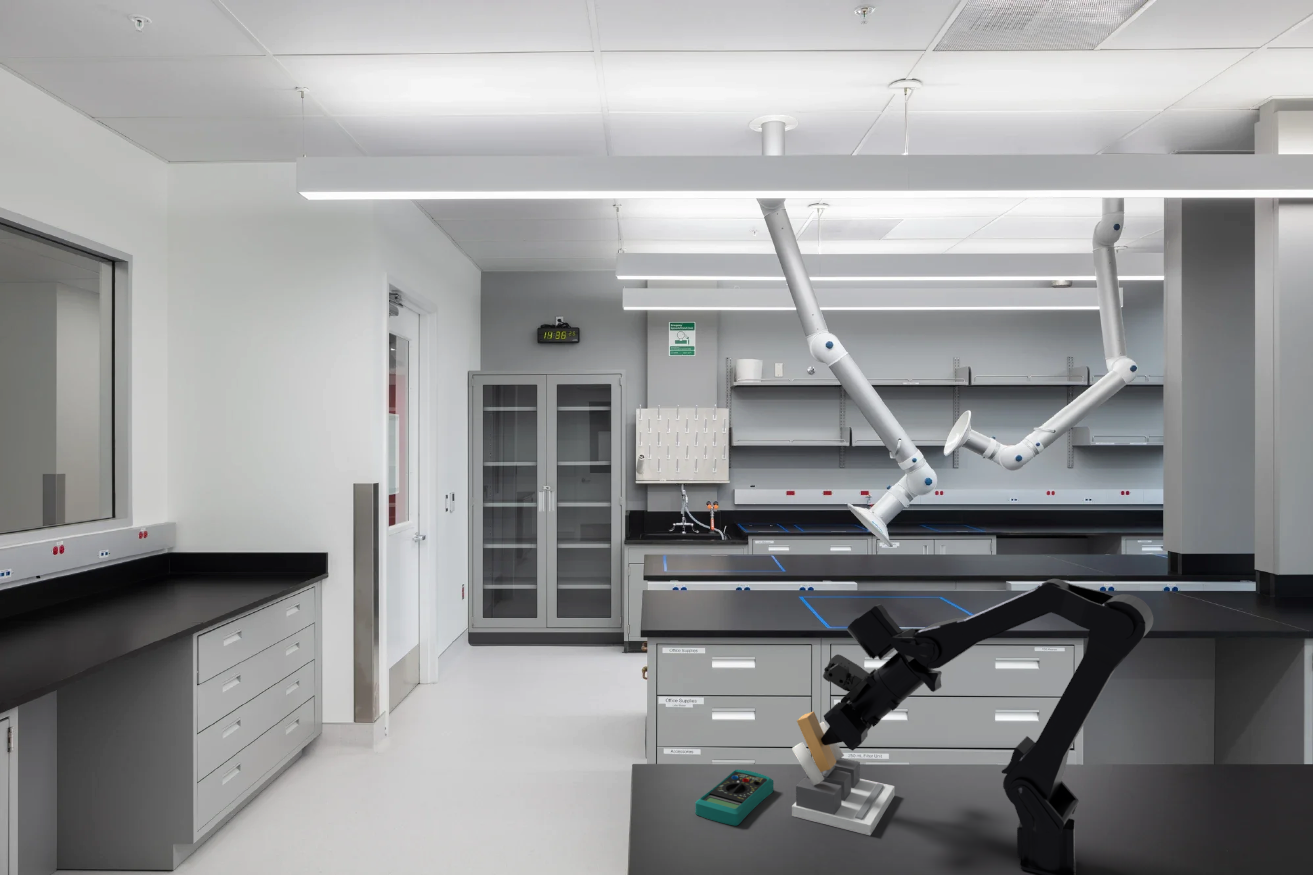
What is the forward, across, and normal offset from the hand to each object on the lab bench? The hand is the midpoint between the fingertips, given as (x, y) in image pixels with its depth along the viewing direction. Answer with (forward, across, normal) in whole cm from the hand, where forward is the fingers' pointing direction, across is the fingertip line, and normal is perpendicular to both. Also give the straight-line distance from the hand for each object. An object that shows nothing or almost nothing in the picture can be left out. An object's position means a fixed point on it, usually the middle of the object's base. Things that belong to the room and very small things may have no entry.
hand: (822, 742), depth 124 cm
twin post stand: (+4, 0, +9) cm, 10 cm away
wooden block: (+2, 0, +4) cm, 4 cm away
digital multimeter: (+15, +8, -1) cm, 17 cm away
